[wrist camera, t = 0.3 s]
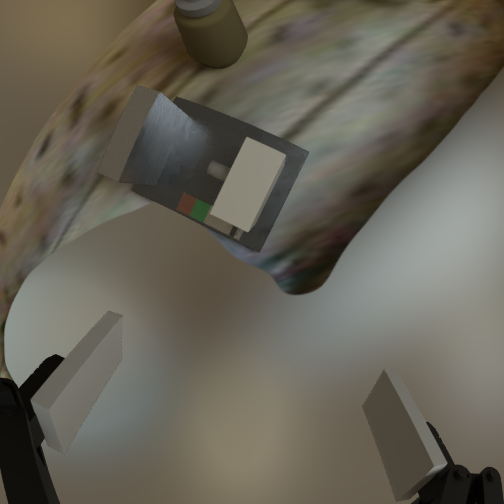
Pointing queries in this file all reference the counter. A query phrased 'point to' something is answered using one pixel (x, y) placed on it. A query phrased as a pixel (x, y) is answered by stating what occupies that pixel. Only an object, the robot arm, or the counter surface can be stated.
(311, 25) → the counter surface
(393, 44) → the counter surface
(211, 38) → the squeeze bottle
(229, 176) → the block
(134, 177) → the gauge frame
